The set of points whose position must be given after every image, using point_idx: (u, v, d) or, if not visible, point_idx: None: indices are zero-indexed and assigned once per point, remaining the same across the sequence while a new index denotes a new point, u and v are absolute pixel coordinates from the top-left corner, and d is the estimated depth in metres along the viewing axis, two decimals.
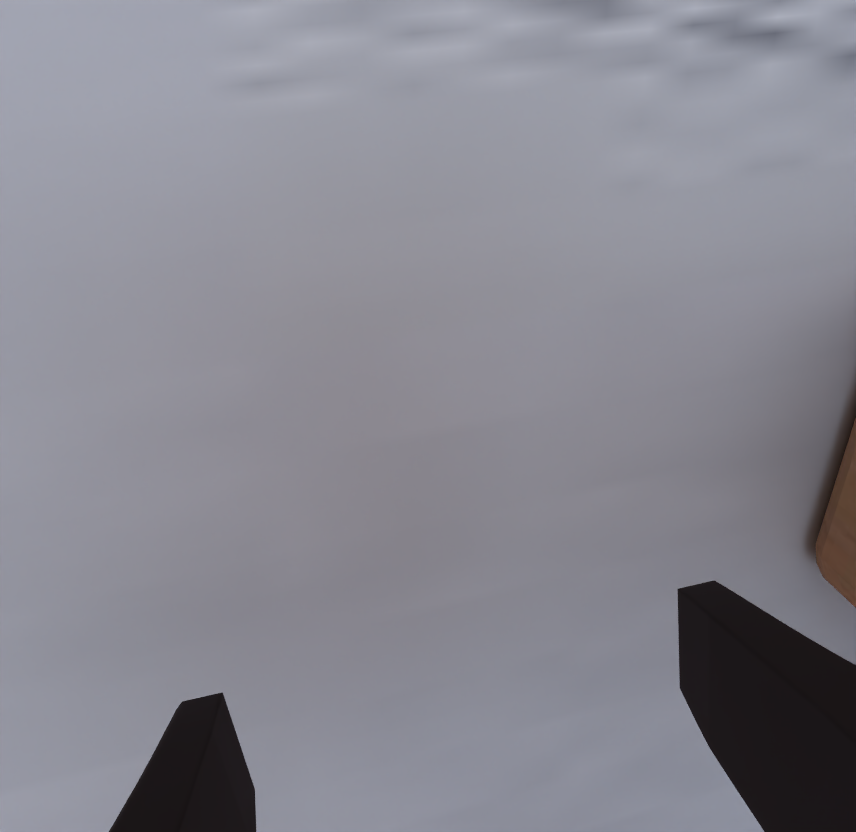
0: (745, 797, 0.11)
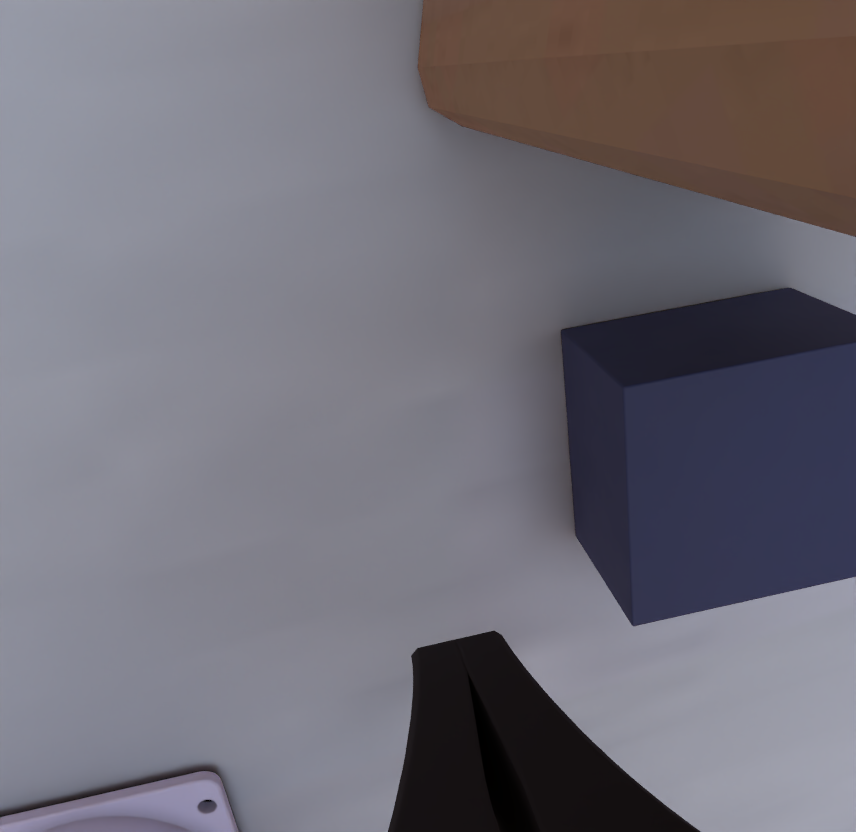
0: None
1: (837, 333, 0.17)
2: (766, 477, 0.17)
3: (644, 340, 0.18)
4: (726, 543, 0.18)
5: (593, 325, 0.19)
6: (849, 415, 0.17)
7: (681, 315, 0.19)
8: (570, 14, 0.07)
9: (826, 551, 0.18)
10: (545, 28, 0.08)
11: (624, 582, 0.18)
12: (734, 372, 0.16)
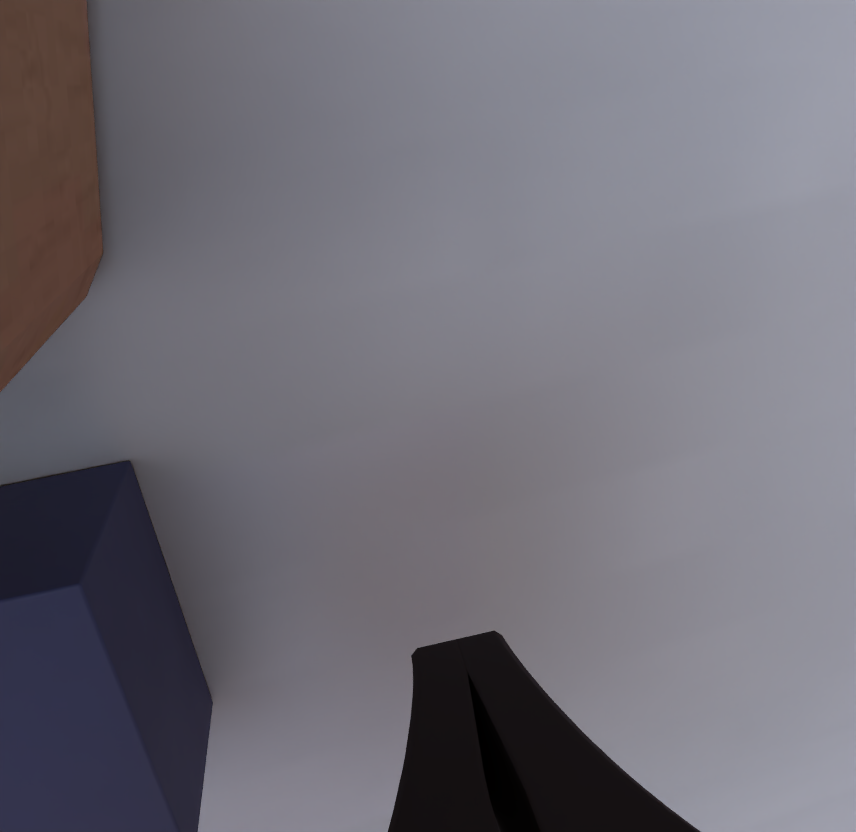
0: None
1: (17, 575, 0.12)
2: None
3: None
4: None
5: None
6: (46, 690, 0.12)
7: None
8: None
9: None
10: None
11: None
12: None
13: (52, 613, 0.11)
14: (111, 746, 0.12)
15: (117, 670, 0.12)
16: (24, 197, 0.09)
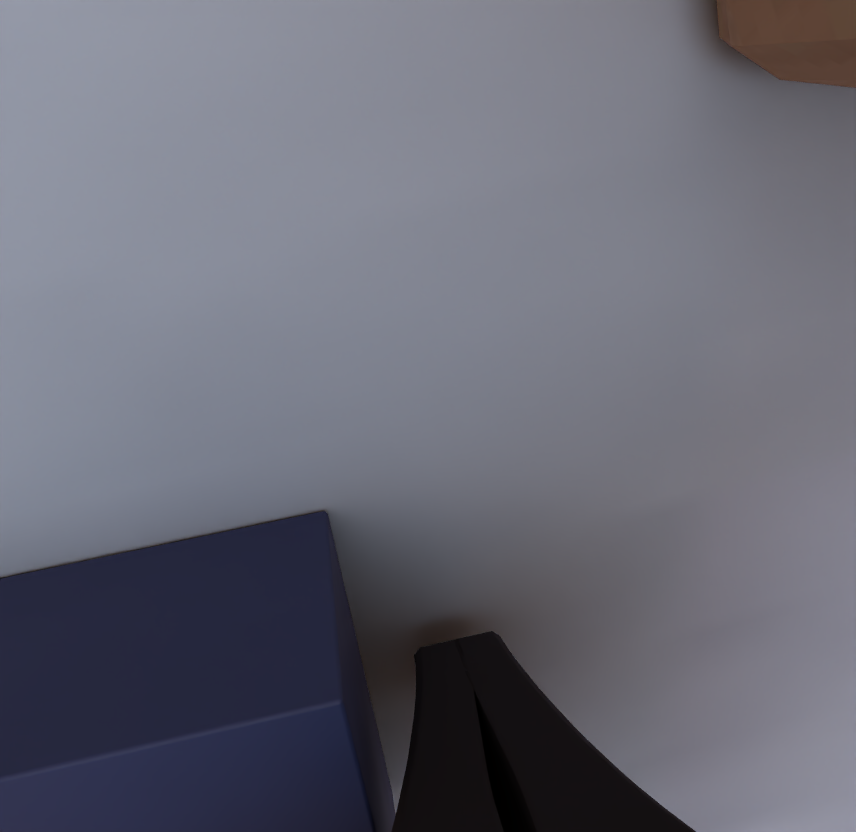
0: None
1: (247, 683, 0.09)
2: None
3: None
4: None
5: None
6: None
7: (105, 576, 0.11)
8: None
9: None
10: None
11: None
12: None
13: (302, 737, 0.08)
14: None
15: (369, 802, 0.09)
16: None
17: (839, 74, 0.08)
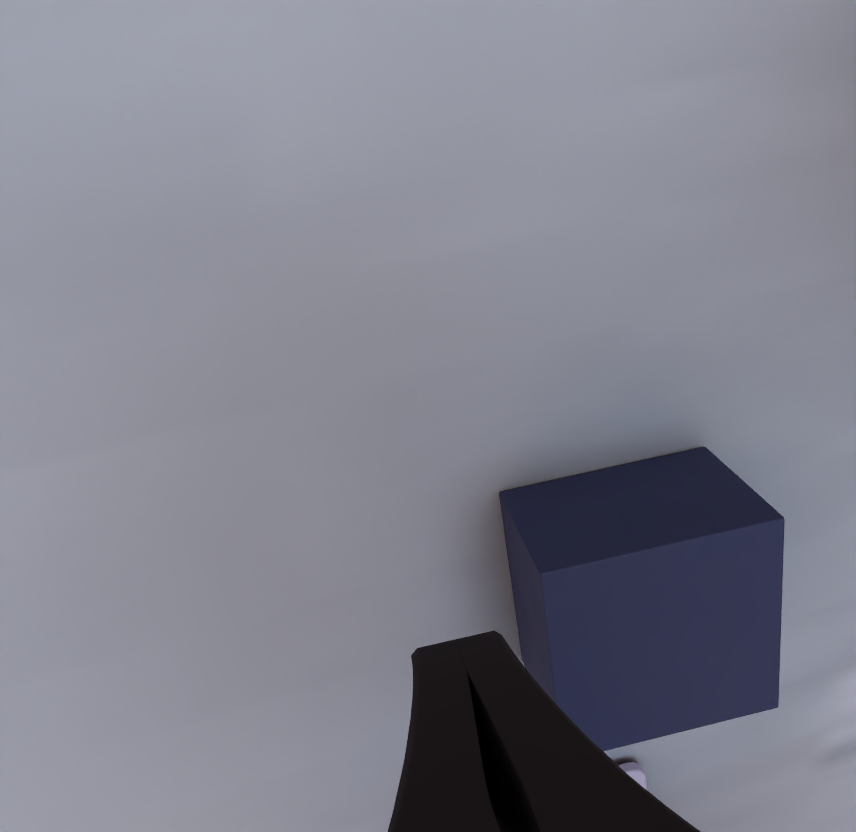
0: None
1: (731, 514, 0.19)
2: (673, 637, 0.20)
3: (568, 512, 0.20)
4: (642, 691, 0.20)
5: (526, 488, 0.22)
6: (744, 584, 0.19)
7: (605, 479, 0.22)
8: None
9: (733, 693, 0.21)
10: None
11: None
12: (638, 556, 0.19)
13: (764, 535, 0.19)
14: (764, 622, 0.20)
15: (781, 572, 0.20)
16: None
17: None
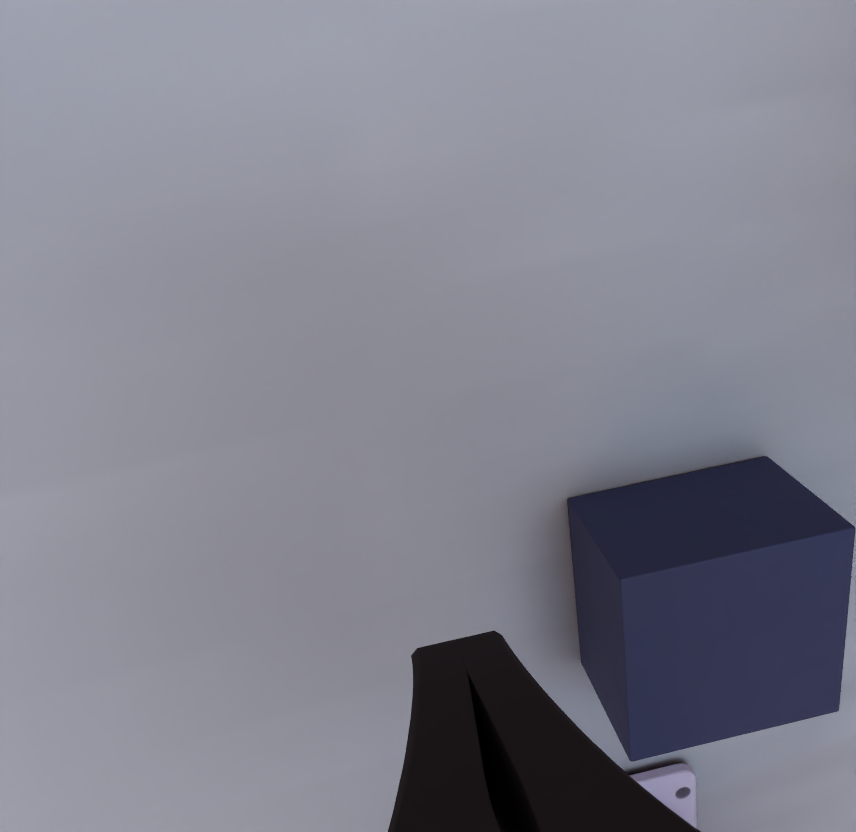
0: None
1: (802, 523, 0.20)
2: (743, 642, 0.20)
3: (639, 519, 0.21)
4: (709, 694, 0.21)
5: (594, 495, 0.22)
6: (813, 591, 0.20)
7: (671, 487, 0.22)
8: None
9: (797, 696, 0.21)
10: None
11: (623, 724, 0.21)
12: (714, 564, 0.19)
13: (835, 544, 0.20)
14: (830, 628, 0.21)
15: (849, 579, 0.20)
16: None
17: None
